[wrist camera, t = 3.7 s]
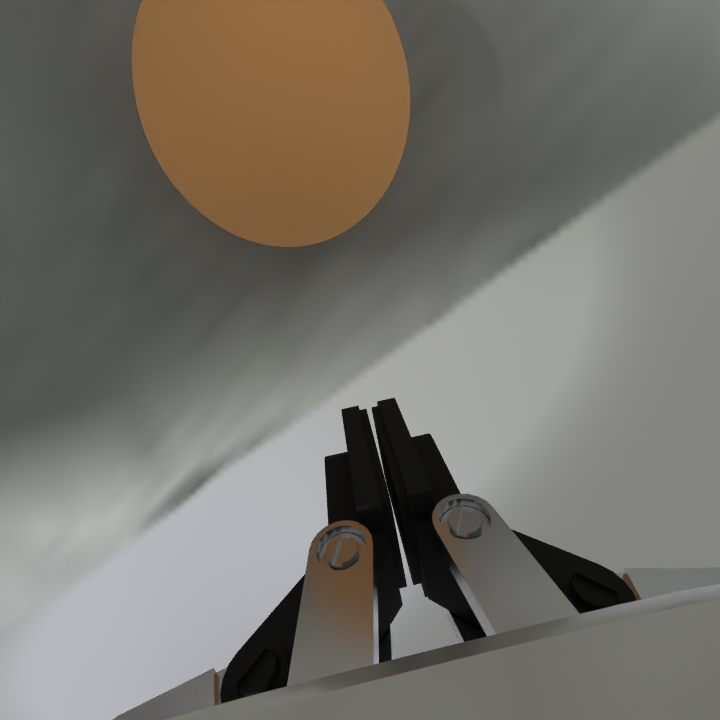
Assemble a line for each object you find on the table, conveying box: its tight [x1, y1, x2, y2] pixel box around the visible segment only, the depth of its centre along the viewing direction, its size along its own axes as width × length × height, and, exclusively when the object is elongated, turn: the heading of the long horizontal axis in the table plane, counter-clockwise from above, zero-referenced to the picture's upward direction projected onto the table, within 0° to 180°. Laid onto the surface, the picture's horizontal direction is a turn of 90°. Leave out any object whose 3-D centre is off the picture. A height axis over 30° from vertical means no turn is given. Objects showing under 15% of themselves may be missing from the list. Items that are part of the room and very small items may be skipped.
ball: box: [131, 0, 411, 247], centre depth 9 cm, size 6×6×6 cm
